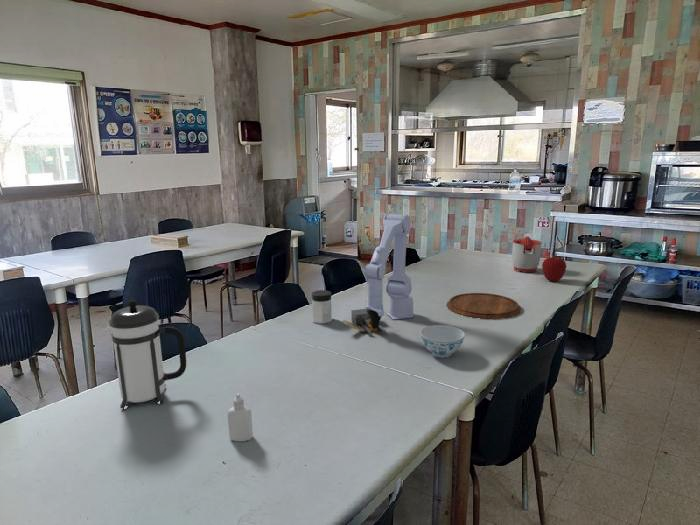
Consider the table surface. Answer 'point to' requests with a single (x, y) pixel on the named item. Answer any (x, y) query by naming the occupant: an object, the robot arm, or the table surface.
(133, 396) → the coffee press
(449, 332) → the chinaware
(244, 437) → the eye dropper bottle
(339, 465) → the table surface
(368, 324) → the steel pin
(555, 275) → the apple
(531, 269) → the citrus juicer
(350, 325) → the keeper tab
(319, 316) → the jar
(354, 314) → the hitch block
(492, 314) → the cutting board
